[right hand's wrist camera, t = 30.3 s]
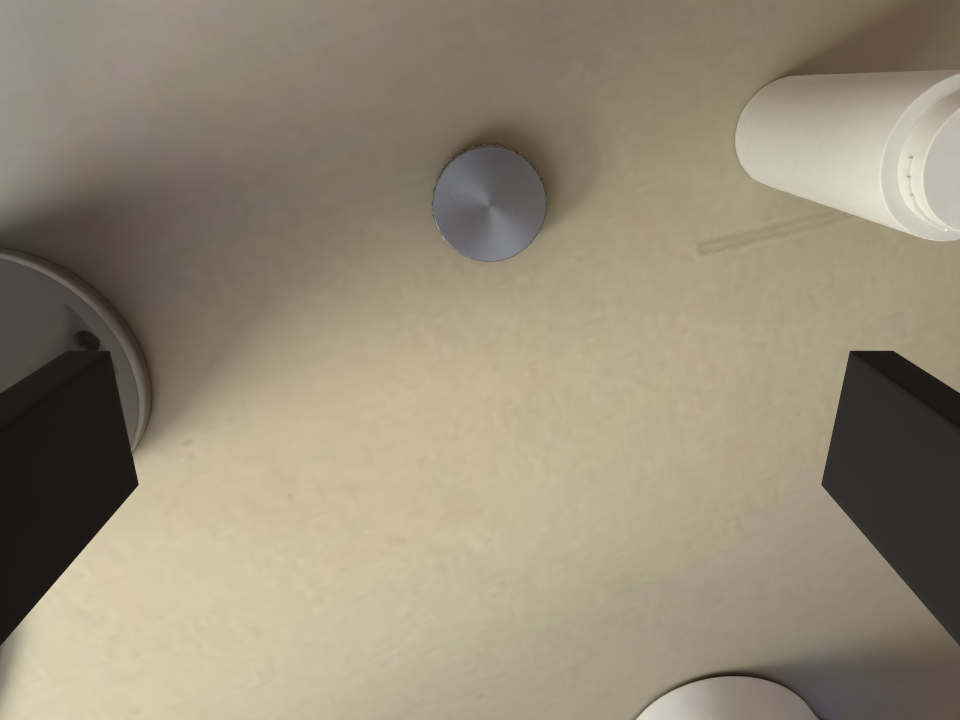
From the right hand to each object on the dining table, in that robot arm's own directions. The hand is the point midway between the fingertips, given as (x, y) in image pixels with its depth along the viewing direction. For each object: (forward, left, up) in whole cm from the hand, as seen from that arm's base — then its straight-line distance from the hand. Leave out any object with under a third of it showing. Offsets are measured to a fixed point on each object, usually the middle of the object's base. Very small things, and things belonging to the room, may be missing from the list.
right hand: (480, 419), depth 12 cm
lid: (0, 0, -25) cm, 25 cm away
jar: (+8, -14, -26) cm, 31 cm away
